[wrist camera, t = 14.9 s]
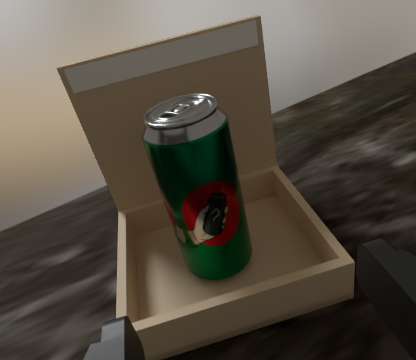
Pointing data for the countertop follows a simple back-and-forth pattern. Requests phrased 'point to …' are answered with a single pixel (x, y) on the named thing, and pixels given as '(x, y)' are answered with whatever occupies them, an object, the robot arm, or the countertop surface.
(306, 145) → the countertop surface
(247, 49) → the mailer box
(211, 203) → the soda can
